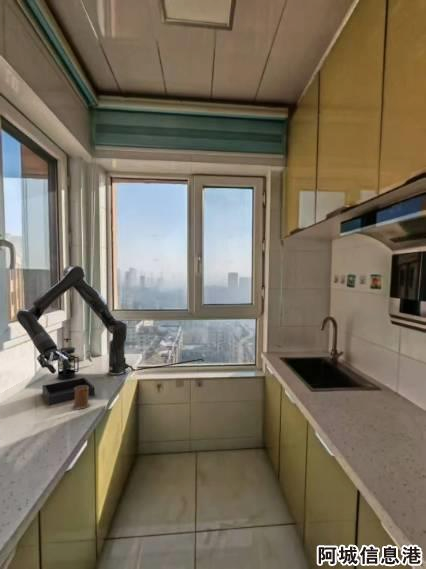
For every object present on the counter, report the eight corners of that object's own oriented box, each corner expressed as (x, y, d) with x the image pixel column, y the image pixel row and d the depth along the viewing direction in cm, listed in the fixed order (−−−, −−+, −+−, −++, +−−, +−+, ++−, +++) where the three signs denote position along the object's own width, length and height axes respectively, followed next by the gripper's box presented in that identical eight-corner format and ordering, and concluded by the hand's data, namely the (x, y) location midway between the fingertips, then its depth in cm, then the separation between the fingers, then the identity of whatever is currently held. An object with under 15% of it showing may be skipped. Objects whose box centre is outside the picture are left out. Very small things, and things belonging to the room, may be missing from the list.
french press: (53, 380, 162) (54, 340, 162) (59, 375, 171) (59, 337, 171) (76, 379, 165) (76, 340, 164) (80, 374, 174) (80, 336, 173)
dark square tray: (84, 386, 155) (84, 377, 155) (94, 396, 142) (94, 386, 142) (42, 395, 142) (42, 385, 142) (48, 407, 129) (48, 396, 129)
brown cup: (86, 402, 135) (86, 383, 135) (89, 407, 130) (90, 387, 130) (72, 406, 131) (72, 386, 131) (75, 410, 126) (76, 390, 126)
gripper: (35, 341, 130) (53, 369, 127) (60, 335, 143) (78, 360, 140) (26, 351, 132) (44, 379, 128) (52, 345, 145) (69, 370, 142)
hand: (62, 369), depth 134 cm, fingers open, 8 cm apart
